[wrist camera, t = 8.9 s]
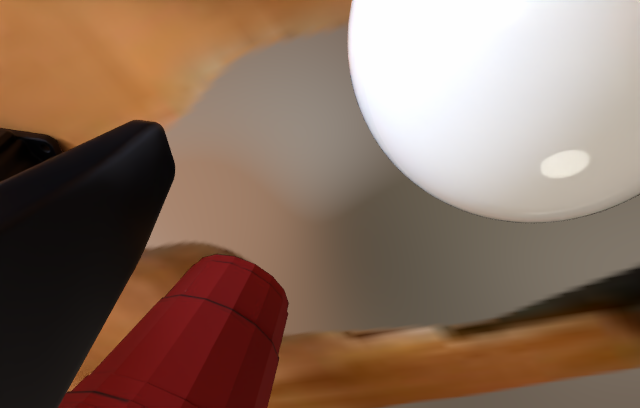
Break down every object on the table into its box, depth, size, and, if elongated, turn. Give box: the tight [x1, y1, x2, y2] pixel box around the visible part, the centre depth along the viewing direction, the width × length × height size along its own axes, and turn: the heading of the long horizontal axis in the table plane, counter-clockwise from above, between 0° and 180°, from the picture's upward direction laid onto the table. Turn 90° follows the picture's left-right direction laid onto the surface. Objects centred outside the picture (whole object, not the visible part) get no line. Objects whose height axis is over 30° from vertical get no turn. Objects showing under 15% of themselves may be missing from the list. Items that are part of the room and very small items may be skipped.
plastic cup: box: [58, 254, 288, 408], centre depth 29 cm, size 11×11×12 cm
